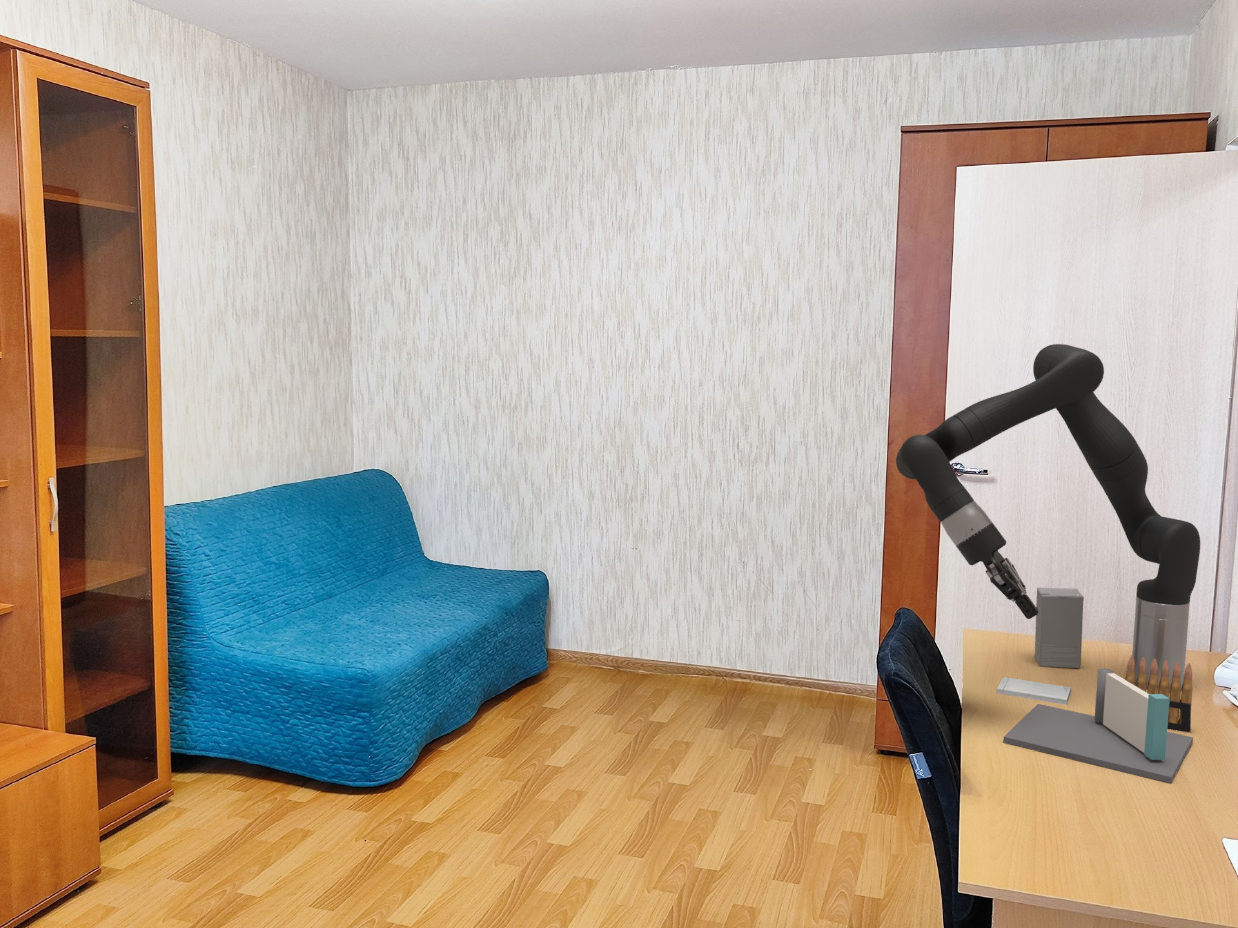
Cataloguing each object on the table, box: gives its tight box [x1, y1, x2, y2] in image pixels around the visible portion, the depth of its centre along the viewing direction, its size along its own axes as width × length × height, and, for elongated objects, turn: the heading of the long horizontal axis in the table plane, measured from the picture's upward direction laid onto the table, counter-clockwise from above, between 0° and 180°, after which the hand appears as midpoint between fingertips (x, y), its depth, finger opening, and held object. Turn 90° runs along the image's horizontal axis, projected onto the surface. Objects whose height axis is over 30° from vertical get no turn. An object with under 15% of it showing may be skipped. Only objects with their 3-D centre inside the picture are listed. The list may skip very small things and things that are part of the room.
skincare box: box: [1034, 587, 1085, 669], centre depth 208 cm, size 8×7×16 cm
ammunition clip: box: [1124, 655, 1194, 733], centre depth 175 cm, size 11×2×12 cm, turn 63°
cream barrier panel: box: [1094, 667, 1170, 760], centre depth 165 cm, size 18×2×10 cm, turn 3°
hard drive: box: [996, 676, 1072, 706], centre depth 192 cm, size 2×8×12 cm
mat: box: [1003, 703, 1194, 784], centre depth 168 cm, size 20×25×1 cm
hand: (1033, 615), depth 173 cm, fingers closed
